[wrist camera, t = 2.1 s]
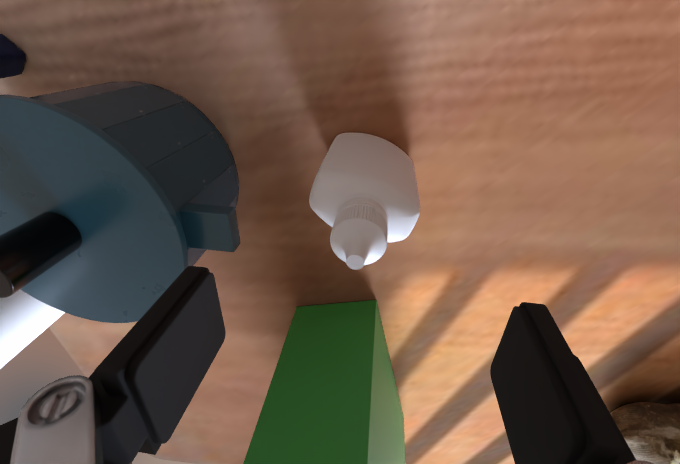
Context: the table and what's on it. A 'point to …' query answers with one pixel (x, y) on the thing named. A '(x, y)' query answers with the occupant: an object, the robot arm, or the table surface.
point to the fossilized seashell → (651, 430)
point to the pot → (169, 154)
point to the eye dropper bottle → (365, 196)
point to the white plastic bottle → (22, 322)
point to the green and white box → (332, 392)
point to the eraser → (10, 58)
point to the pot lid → (81, 217)
